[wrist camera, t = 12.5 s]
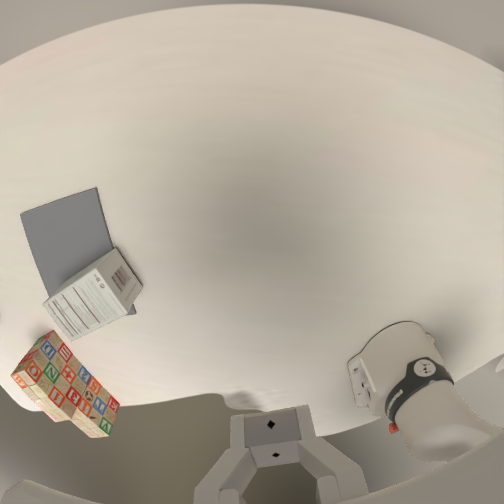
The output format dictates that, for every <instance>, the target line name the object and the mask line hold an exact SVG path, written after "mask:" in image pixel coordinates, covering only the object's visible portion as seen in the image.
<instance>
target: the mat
mask: <svg viewBox="0 0 504 504" xmlns="http://www.w3.org/2000/svg"><path fill="white" fill-rule="evenodd" d="M20 216H21V220H22V223H23V227H24V230H25V233H26V237H27V240H28V243H29V246H30V249H31V251H32V254H33V257H34V260H35V263H36V265H37V268H38V271H39V273H40V276H41V278H42V281H43V283H44V286H45V288H46V290H47V293H48V295H49V297H50V296H51V295H52V294H53V293H54V292H55V291H56V290H57V289H58V288H59V287H60V286H61V285H62V284H63V283H64V282H65V281H67V280H68V279H69V278H71V277H72V276H74V275H75V274H77V273H78V272H80V271H81V270H83V269H84V268H86V267H87V266H89V265H90V264H91V263H93V262H95V261H96V260H98V259H99V258H101V257H102V256H104V255H105V254H107V253H108V252H110V251H111V250H113V249H114V248H113V245H112V242H111V238H110V235H109V232H108V228H107V225H106V221H105V218H104V214H103V210H102V207H101V203H100V199H99V195H98V191H97V188H94V189H90V190H87V191H84V192H81V193H78V194H75V195H72V196H69V197H66V198H63V199H60V200H57V201H54V202H51V203H48V204H46V205H43V206H40V207H38V208H35V209H32V210H30V211H27V212H24V213H22V214H20ZM134 314H136V310H135V308H134V305H133V304H132V306H131V308H130V310H129V312H128V314H127V315H134Z"/></svg>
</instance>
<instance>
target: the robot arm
mask: <svg viewBox="0 0 504 504" xmlns="http://www.w3.org/2000/svg"><path fill="white" fill-rule="evenodd" d="M434 342H435V340H434V338H433V337H432V336H431V335H429V334H426V333H425V332H424V330H423V329H422V327H421V326H420V325H418V324H416V323H414V322H401V323H397V324H395V325H392V326H390V327H388V328H386V329H384V330H383V331H381V332H380V333H378V334H377V335H376V336H375V337H374V338H373V339H372V340H371V341H370V342H369V343H368V344H367V345H366V347H365V348H364V349H363V350H362V352H361V353H360V354H358V355H357V356H355V357H354V358H353V359H351V360H350V361H349V363H348V370H349V374H350V379H351V383H352V388H353V393H354V398H355V402H356V404H357V406H358V407H369V408H370V410H371V412H372V414H373V415H375V416H388V418H389V419H390V420H391V421H392V422H393V423H391V424H390V425H389V430H390V432H391V433H392V434H393V433H395V432H397V431H400V433H401V435H402V437H403V440H404V442H405V444H406V447H407V449H408V451H409V453H410V454H411V455H412V456H413V457H415V458H416V459H419V460H421V461H427V462H428V461H447V463H445V464H443V465H441V466H439V467H437V468H434V469H433V470H430V471H428V472H426V473H424V474H421V475H419V476H417V477H414V478H412V479H410V480H407V481H405V482H402V483H399V484H397V485H394V486H391V487H388V488H386V489H383V490H380V491H377V492H374V493H371V494H369V492H368V488H367V485H366V482H365V479H364V476H363V472H362V469H361V467H360V466H359V465H357V464H356V463H355V462H353V461H352V460H350V459H349V458H348V457H346V456H345V455H344V454H342V453H341V452H340V451H338V450H337V449H336V448H334V447H333V446H332V445H330V444H329V443H328V442H326V441H325V440H324V439H323V438H321V437H320V436H319V437H316V434H315V430H314V426H313V422H312V418H311V413H310V409H309V406H308V405H303V406H298V407H291V408H286V409H280V410H274V411H270V412H263V413H254V414H245V415H234V416H232V417H231V447H230V448H231V449H227V450H226V451H225V453H224V454H223V455H222V456H221V458H220V459H219V460H218V461H217V463H216V464H215V465H214V466H213V468H212V469H211V470H210V471H209V473H208V474H207V475H206V476H205V477H204V478H203V480H202V481H201V482H200V483H199V484H198V486H197V487H196V488H195V492H194V504H246V502H245V501H244V499H243V498H242V496H241V495H242V494H243V492H244V490H245V489H246V487H247V486H248V484H249V482H250V481H251V479H252V477H253V476H254V474H255V472H256V471H257V468H258V467H266V466H273V465H279V464H288V463H295V462H300V463H301V464H302V465H303V466H304V467H305V468H306V469H307V470H308V471H309V472H310V473H311V474H312V475H313V476H314V477H315V478H316V479H317V480H318V481H317V504H504V428H501V427H498V426H495V425H492V424H490V423H489V422H487V421H485V420H483V419H481V418H480V417H479V416H478V415H477V414H476V413H474V411H473V410H472V409H471V408H470V407H469V406H468V404H467V403H466V402H465V400H464V399H463V398H462V397H461V395H460V394H459V393H458V391H457V390H456V388H455V387H454V382H453V380H452V378H451V376H450V374H449V372H447V371H446V369H445V368H444V367H445V364H444V361H443V360H442V358H441V356H440V355H439V353H438V351H437V350H436V348H435V346H434ZM0 504H101V503H97V502H93V501H89V500H85V499H81V498H78V497H75V496H71V495H68V494H65V493H62V492H59V491H56V490H53V489H51V488H47V487H45V486H43V485H40V484H37V483H35V482H33V481H30V480H22V481H20V482H18V483H16V484H15V485H13V486H12V487H10V488H9V489H8V490H6V492H5V493H4V495H3V497H2V499H1V502H0Z"/></svg>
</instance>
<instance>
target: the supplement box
mask: <svg viewBox="0 0 504 504" xmlns="http://www.w3.org/2000/svg"><path fill="white" fill-rule="evenodd" d="M141 289H142V286H141V284H140V283H139V281H138V280H137V278H136V277H135V275H134V274H133V273H132V271H131V270H130V268H129V267H128V265H127V264H126V262H125V261H124V259H123V258H122V256H121V255H120V253H119V252H118V250H117V249H116V248H114V249H113V250H111V251H110V252H108V253H107V254H105V255H104V256H102V257H101V258H99V259H98V260H96V261H95V262H93V263H91V264H90V265H89V266H87V267H86V268H84V269H83V270H81V271H80V272H78V273H77V274H75V275H74V276H72V277H71V278H69V279H68V280H67V281H65V282H64V283H63V284H62V285H61V286H60V287H59V288H58V289H57V290H56V291H55V292H54V293H53V294H52V295H51V296H50V297H49V298H48V299H47V300H46V301H45V302H44V303H43V306H44V307H45V309H46V310H47V311H48V313H49V314H50V315H51V316H52V318H53V319H54V320H55V322H56V323H57V324H58V326H59V327H60V328H61V329H62V331H63V332H64V333H65V335H66V336H67V337H68V338H69V339H70V341H74V340H76V339H78V338H80V337H82V336H84V335H86V334H88V333H90V332H92V331H94V330H96V329H98V328H100V327H102V326H105V325H106V324H109V323H111V322H113V321H115V320H117V319H119V318H120V317H123V316H125V315H127V314H128V312H129V310H130V308H131V306H132V304H133V302H134V300H135V299H136V297H137V295H138V294H139V292H140V291H141Z"/></svg>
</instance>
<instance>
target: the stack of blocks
mask: <svg viewBox="0 0 504 504" xmlns="http://www.w3.org/2000/svg"><path fill="white" fill-rule="evenodd" d="M11 377H12V378H13V379H14V380H15V381H16V383H17V384H18V385H19V386H20V387H21V388H22V390H23V391H24V393H25V394H26V395H27V396H28V397H29V398H30V399H31V400H33V401H34V403H35V404H37V405H38V406H39V407H40V408H41V409H42V410H43V411H44V412H45V413H46V414H47V415H48V416H49V417H50V418H51V419H53V420H54V421H55V422H59V421H63V420H71V421H72V422H73V423H74V424H75V425H76V426H77V427H79V428H80V429H81V430H82V431H83V432H85V433H86V434H87V435H88V436H89V437H90V438H97V437H105V436H110V433H111V430H112V427H113V422H114V420H115V417H116V413H117V411H118V408H119V405H120V404H119V403H118V402H117V401H116V400H115V399H114V398H113V397H112V396H110V394H109V393H108V392H107V391H106V390H105V389H104V388H103V387H102V386H101V385H100V383H99V382H98V381H97V380H96V379H95V378H94V377H93V376H92V375H91V374H90V373H89V372H88V371H87V370H86V369H85V367H84V366H83V365H82V364H81V363H80V362H79V361H78V360H77V358H76V357H75V356H74V355H73V353H72V352H71V351H70V350H69V349H68V347H67V346H66V345H65V344H64V342H63V341H62V340H61V338H60V337H59V336H58V335H57V333H56V332H55V331H54V330H53V331H52V332H50V333H48V334H46V335H44V336H42V337H40V338H39V339H38V340H37V341H36V343H35V344H34V345H33V347H32V348H31V349H30V350H29V351H28V353H27V354H26V355H25V356H24V358H23V359H22V360H21V362H20V363H19V364H18V366H17V367H16V369H15V370H14V371H13V373H12V374H11Z"/></svg>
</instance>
